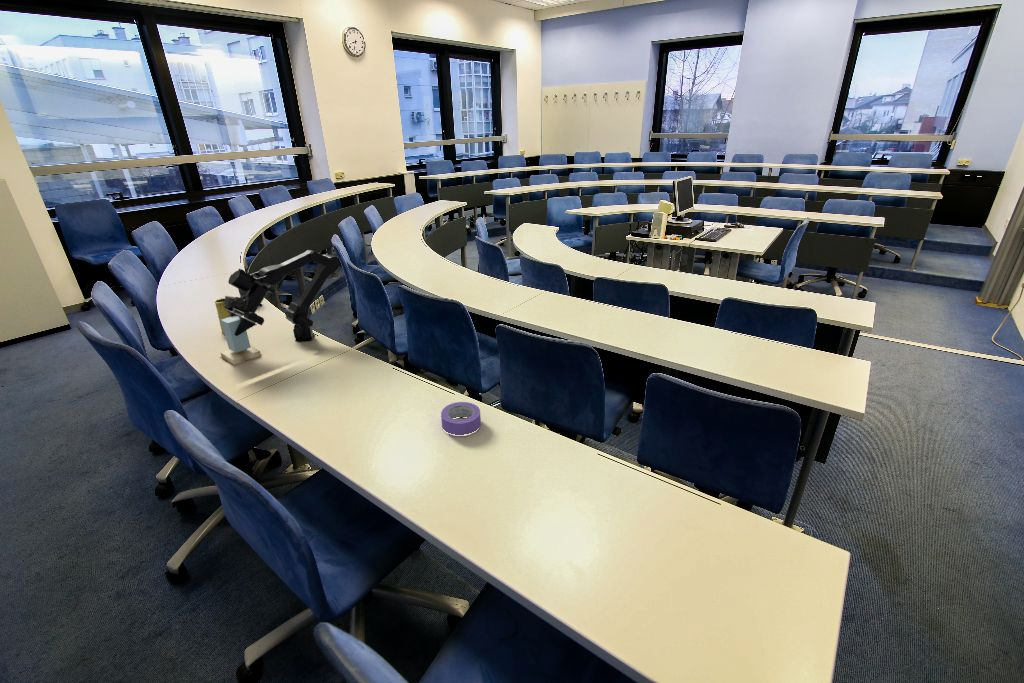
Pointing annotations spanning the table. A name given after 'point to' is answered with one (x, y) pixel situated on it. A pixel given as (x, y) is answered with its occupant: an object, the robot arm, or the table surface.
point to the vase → (221, 311)
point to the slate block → (234, 341)
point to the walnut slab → (238, 363)
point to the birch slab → (240, 355)
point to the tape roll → (464, 424)
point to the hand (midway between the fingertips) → (231, 333)
